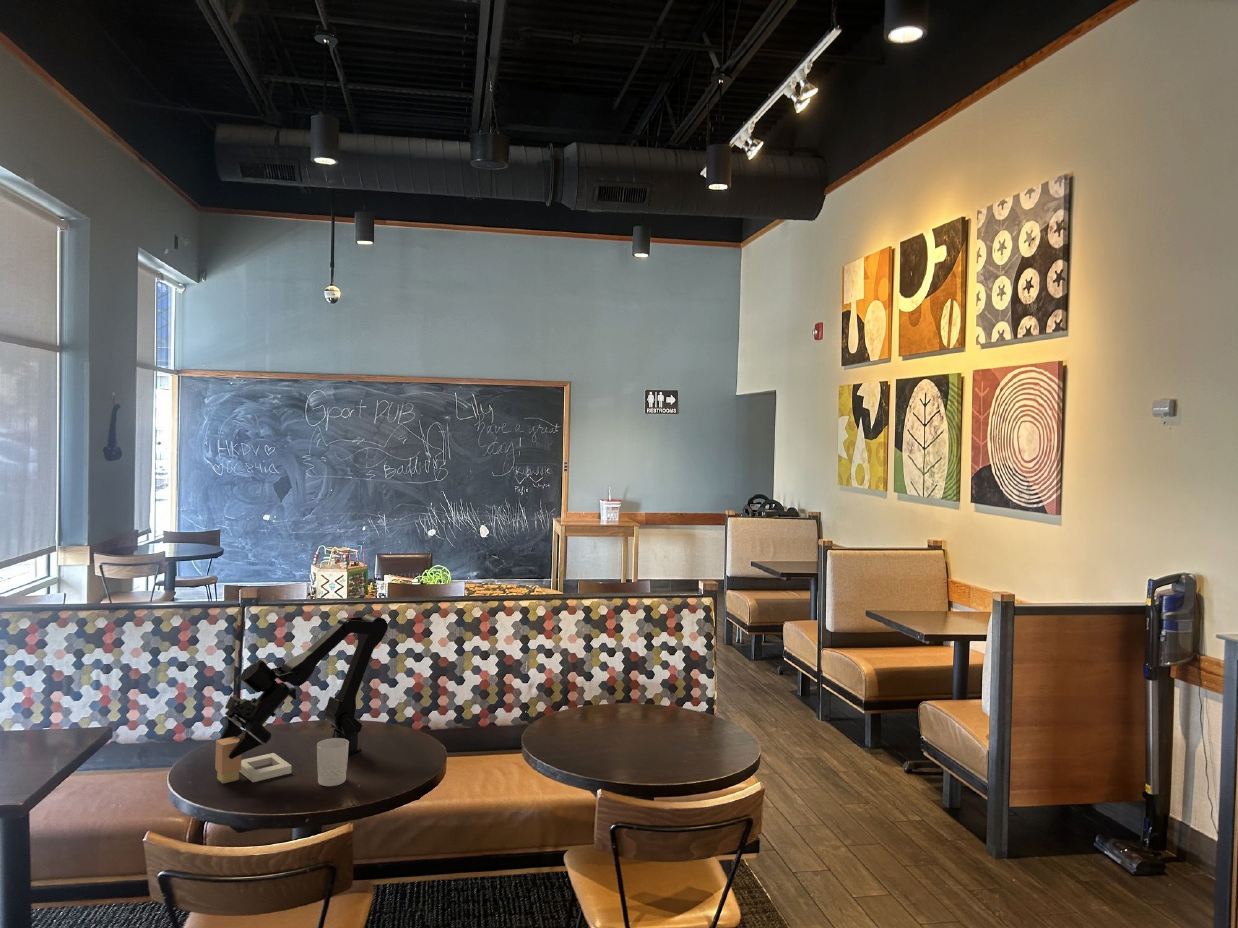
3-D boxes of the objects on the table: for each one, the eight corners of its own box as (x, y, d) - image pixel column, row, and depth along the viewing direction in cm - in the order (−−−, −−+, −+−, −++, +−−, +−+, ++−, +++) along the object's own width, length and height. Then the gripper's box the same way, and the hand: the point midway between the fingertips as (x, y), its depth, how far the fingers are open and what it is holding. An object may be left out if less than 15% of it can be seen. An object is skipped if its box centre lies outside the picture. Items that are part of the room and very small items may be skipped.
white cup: (320, 775, 223) (321, 737, 223) (351, 775, 224) (352, 737, 224) (312, 787, 215) (313, 748, 215) (343, 787, 216) (344, 748, 216)
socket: (273, 759, 233) (273, 752, 233) (291, 772, 224) (291, 765, 224) (235, 768, 226) (236, 761, 226) (252, 782, 217) (252, 774, 217)
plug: (234, 774, 222) (235, 736, 222) (240, 779, 219) (241, 741, 219) (214, 778, 219) (215, 740, 219) (221, 784, 216) (222, 745, 215)
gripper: (233, 677, 228) (188, 725, 221) (260, 692, 215) (213, 745, 207) (262, 701, 234) (219, 749, 226) (290, 718, 220) (245, 769, 213)
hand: (223, 752), depth 218 cm, fingers open, 9 cm apart
